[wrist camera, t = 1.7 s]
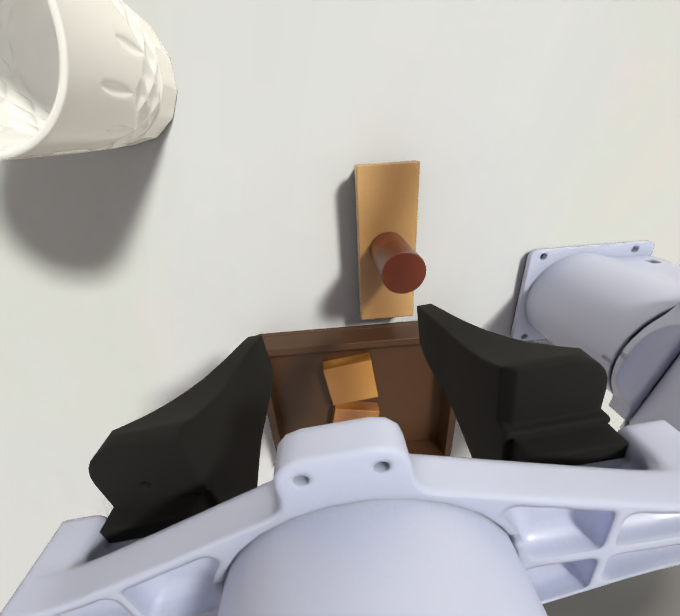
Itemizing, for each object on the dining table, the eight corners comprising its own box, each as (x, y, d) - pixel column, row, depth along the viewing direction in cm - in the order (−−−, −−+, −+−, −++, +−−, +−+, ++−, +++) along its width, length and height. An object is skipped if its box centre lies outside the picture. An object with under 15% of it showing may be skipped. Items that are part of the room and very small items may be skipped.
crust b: (377, 402, 29) (379, 411, 28) (369, 433, 31) (371, 443, 30) (334, 399, 29) (335, 409, 28) (329, 430, 30) (329, 441, 29)
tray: (455, 317, 26) (468, 332, 24) (441, 437, 33) (450, 459, 30) (258, 334, 26) (253, 351, 24) (284, 452, 32) (281, 475, 30)
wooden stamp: (410, 159, 21) (448, 164, 15) (405, 302, 25) (432, 351, 19) (352, 163, 20) (366, 170, 14) (358, 306, 25) (370, 356, 19)
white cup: (175, 176, 20) (61, 199, 11) (34, 120, 18) (-232, 95, 9) (201, 30, 17) (73, -98, 8) (35, -55, 15) (-363, -338, 6)
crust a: (369, 351, 27) (371, 360, 26) (376, 387, 28) (378, 396, 27) (322, 361, 27) (322, 370, 26) (332, 396, 29) (333, 405, 28)
